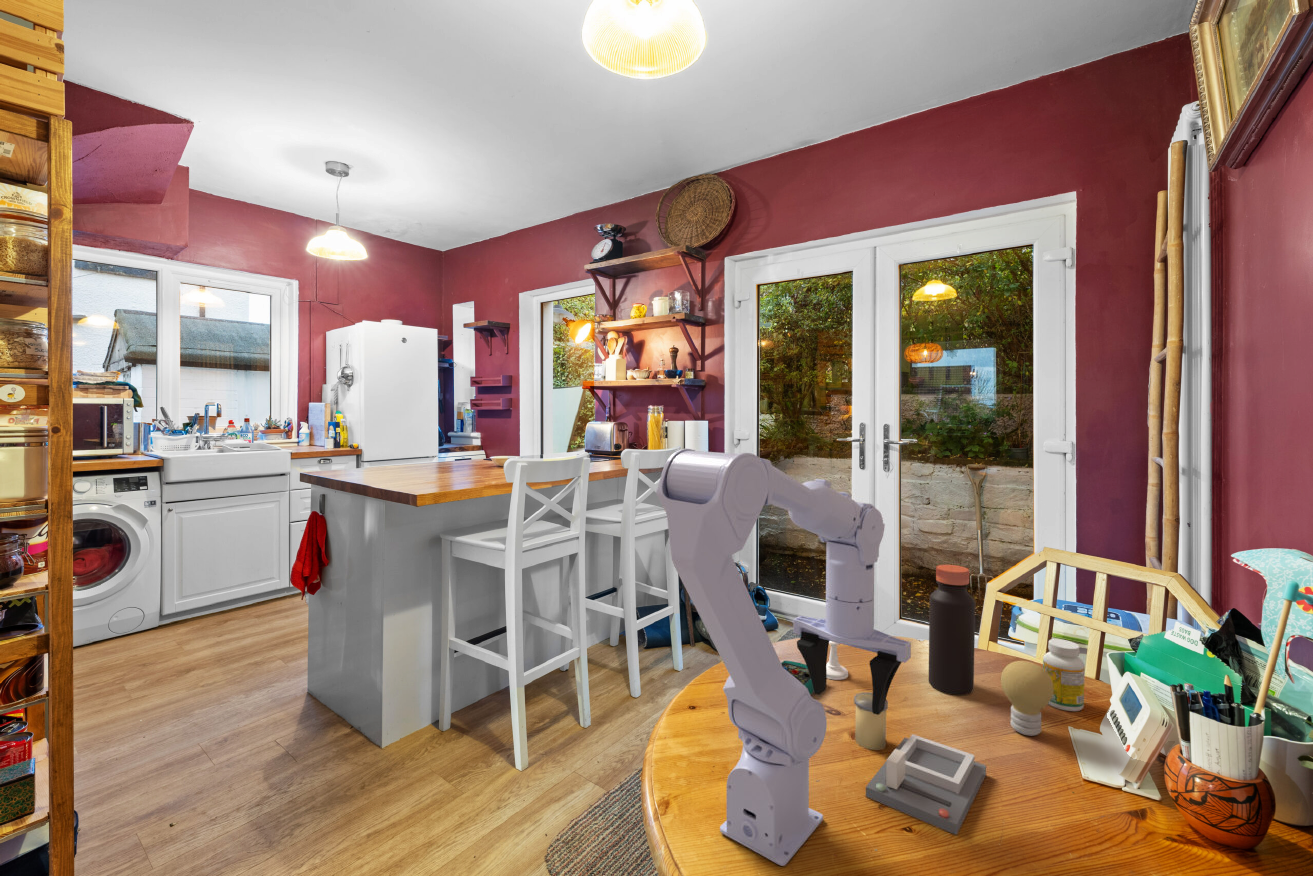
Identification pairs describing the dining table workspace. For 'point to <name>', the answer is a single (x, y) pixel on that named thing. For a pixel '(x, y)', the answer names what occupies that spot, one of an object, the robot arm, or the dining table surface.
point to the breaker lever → (895, 769)
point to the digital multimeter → (799, 673)
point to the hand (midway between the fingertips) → (848, 701)
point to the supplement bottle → (1065, 674)
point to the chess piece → (835, 664)
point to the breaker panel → (931, 783)
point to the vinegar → (952, 632)
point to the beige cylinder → (869, 723)
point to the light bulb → (1026, 694)
